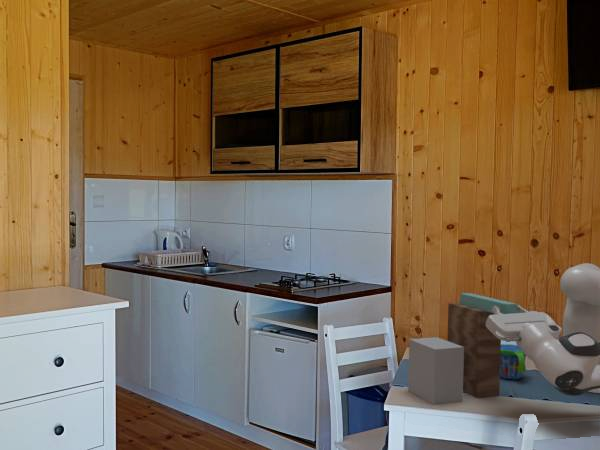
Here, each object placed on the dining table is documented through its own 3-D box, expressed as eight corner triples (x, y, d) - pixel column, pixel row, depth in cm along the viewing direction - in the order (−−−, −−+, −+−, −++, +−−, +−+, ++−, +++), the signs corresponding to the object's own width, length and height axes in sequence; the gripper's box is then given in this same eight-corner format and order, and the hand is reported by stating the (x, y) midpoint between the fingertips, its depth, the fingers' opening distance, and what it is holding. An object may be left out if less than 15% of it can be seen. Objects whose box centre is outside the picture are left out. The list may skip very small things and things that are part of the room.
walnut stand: (499, 395, 192) (501, 310, 191) (477, 398, 189) (479, 311, 188) (466, 381, 206) (469, 302, 206) (446, 383, 204) (448, 303, 203)
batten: (516, 315, 181) (516, 303, 181) (506, 316, 180) (506, 304, 180) (469, 303, 202) (469, 293, 202) (459, 304, 201) (460, 293, 200)
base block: (462, 400, 186) (464, 347, 185) (433, 404, 182) (435, 349, 181) (435, 387, 199) (437, 337, 198) (408, 390, 195) (409, 339, 194)
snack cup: (486, 371, 220) (487, 342, 219) (516, 371, 220) (516, 342, 220) (503, 383, 204) (504, 352, 204) (535, 384, 205) (536, 352, 204)
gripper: (498, 350, 170) (471, 317, 181) (557, 345, 178) (528, 313, 189) (506, 332, 167) (479, 299, 178) (566, 328, 175) (536, 297, 185)
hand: (505, 307), depth 183 cm, fingers open, 6 cm apart
